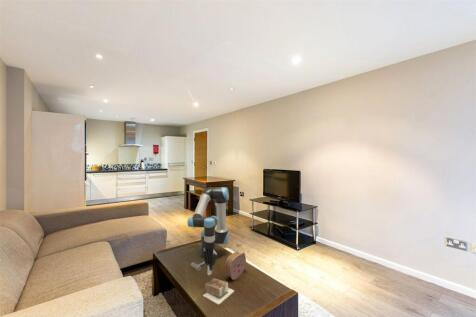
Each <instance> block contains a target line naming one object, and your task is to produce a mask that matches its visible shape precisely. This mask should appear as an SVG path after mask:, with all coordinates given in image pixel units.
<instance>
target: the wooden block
mask: <svg viewBox="0 0 476 317" xmlns="http://www.w3.org/2000/svg"><path fill="white" fill-rule="evenodd" d="M228 288H229V282H228V281H225V280H221V279H218V278H212V279H210V280H209V281H208V282H206V283H205V284H204V289H205V290H204V292H205V293H210V294H212V295H215V296H218V297H221V296H222V295H223V294H224V293H225V292H226V291H228V290H229V289H228Z"/></svg>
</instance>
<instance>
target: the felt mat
mask: <svg viewBox="0 0 476 317" xmlns="http://www.w3.org/2000/svg"><path fill="white" fill-rule="evenodd" d="M228 289H229V290H228V291H226V292H225V293H224V294H223V295H222V296H221V297H218V296H215V295H212V294H210V293H207V292H205V293H204V294H203V295H202V296H203V298H205V299H207V300H209V301H211V302H213V303H214V304H216V305H217V306H220V305H221V304H222V303H223V302H224V301H226V300H227V298H228V297H229V296H231V295H232V294H233V293H234V292H235V290H234V289H232V288H229V287H228Z"/></svg>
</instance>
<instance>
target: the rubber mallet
mask: <svg viewBox="0 0 476 317" xmlns="http://www.w3.org/2000/svg"><path fill="white" fill-rule="evenodd" d="M222 257H223V254H222V253H217V255H216V260H217V259H219V258H222ZM204 264H206V263H205V261H203V262H200V263H198V264H197V263H196V262H191V263H190V267H191V268H192V269H194V270H195V271H197V272H199V271H201V270H202V267H201V266H203V265H204Z"/></svg>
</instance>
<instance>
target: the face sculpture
mask: <svg viewBox="0 0 476 317" xmlns="http://www.w3.org/2000/svg"><path fill="white" fill-rule="evenodd" d="M246 266H247V258H246V253H245V252H242V253H240V252H239V251H235V252H233V253H231V254H229V255H228V257H227V258H226V261H225V264H224V270H225V271H224V272H225V276H226V277H227V278H229V279H231V280H233V281H234V280H237V279H238V278H239V277H240V276H241V275H243V273H244V271H245V268H246Z"/></svg>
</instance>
